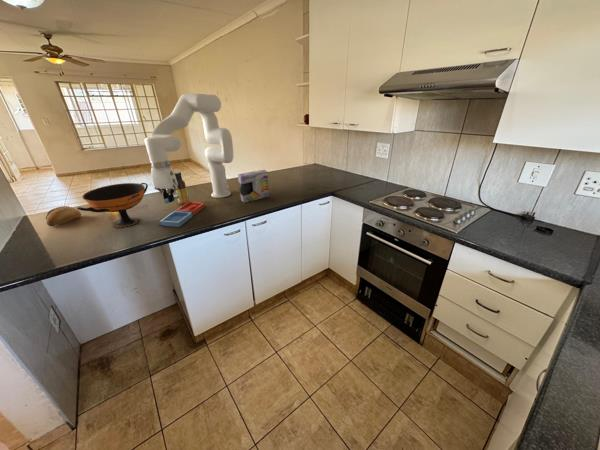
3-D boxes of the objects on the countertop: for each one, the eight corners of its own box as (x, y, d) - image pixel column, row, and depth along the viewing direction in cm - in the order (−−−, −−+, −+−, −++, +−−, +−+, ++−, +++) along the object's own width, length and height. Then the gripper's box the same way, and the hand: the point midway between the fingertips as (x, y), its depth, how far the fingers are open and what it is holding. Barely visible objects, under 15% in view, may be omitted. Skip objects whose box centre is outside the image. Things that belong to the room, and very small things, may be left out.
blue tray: (175, 215, 138) (174, 211, 137) (193, 216, 136) (192, 212, 135) (160, 225, 127) (159, 221, 126) (179, 226, 125) (178, 222, 124)
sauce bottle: (179, 202, 154) (171, 171, 145) (189, 201, 156) (182, 170, 147) (178, 206, 149) (170, 174, 140) (189, 204, 151) (182, 173, 142)
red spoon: (192, 206, 148) (192, 203, 147) (198, 206, 147) (197, 203, 146) (183, 212, 139) (183, 209, 139) (189, 213, 139) (189, 210, 138)
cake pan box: (242, 203, 152) (238, 175, 144) (239, 201, 156) (235, 173, 148) (269, 197, 162) (268, 170, 154) (266, 195, 166) (264, 169, 157)
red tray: (189, 205, 150) (188, 201, 149) (205, 206, 148) (204, 202, 147) (177, 214, 139) (176, 210, 138) (194, 215, 137) (193, 211, 136)
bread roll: (43, 226, 125) (35, 212, 122) (74, 214, 138) (68, 201, 134) (56, 229, 123) (48, 215, 119) (86, 217, 136) (80, 203, 132)
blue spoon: (174, 196, 130) (173, 193, 129) (180, 196, 130) (179, 193, 129) (163, 203, 122) (162, 199, 121) (169, 203, 122) (168, 200, 121)
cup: (134, 207, 148) (125, 178, 139) (171, 211, 142) (163, 182, 134) (72, 236, 117) (55, 202, 108) (115, 243, 111) (101, 207, 103)
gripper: (180, 163, 118) (188, 199, 126) (150, 162, 120) (160, 197, 128) (170, 167, 111) (179, 205, 120) (139, 166, 113) (150, 203, 122)
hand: (169, 201), depth 124 cm, fingers closed on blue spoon, 1 cm apart
